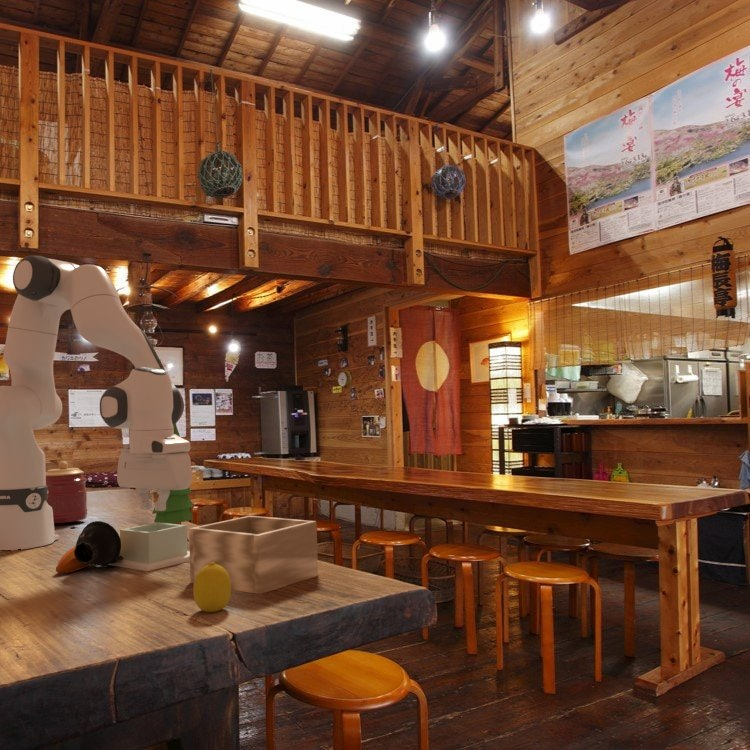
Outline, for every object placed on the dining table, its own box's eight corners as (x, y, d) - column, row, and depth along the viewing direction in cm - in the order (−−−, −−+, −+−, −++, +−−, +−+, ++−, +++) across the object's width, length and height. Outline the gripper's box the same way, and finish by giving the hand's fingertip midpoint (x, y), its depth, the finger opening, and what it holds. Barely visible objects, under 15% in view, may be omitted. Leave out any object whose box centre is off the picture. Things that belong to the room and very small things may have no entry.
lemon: (197, 611, 102) (196, 559, 103) (234, 609, 103) (232, 557, 103) (190, 623, 97) (189, 567, 97) (229, 620, 97) (227, 565, 98)
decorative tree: (176, 546, 154) (173, 416, 155) (143, 545, 157) (140, 417, 159) (201, 538, 163) (198, 415, 164) (169, 537, 166) (166, 416, 168)
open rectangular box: (104, 565, 137) (103, 530, 137) (160, 551, 149) (159, 520, 149) (147, 572, 129) (146, 536, 130) (203, 557, 141) (202, 524, 141)
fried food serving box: (190, 585, 118) (189, 528, 119) (250, 566, 131) (249, 515, 131) (259, 597, 109) (258, 535, 109) (318, 576, 121) (316, 521, 122)
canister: (30, 524, 195) (29, 463, 196) (58, 516, 208) (57, 460, 209) (70, 524, 193) (69, 462, 194) (96, 516, 206) (95, 459, 207)
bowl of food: (75, 521, 125) (129, 493, 143) (49, 565, 128) (104, 532, 145) (113, 551, 124) (162, 519, 142) (85, 594, 127) (137, 557, 144)
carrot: (56, 553, 126) (104, 525, 141) (40, 568, 128) (89, 539, 142) (72, 573, 126) (119, 543, 141) (57, 588, 127) (104, 557, 142)
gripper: (109, 444, 143) (110, 509, 143) (171, 444, 132) (172, 515, 131) (134, 442, 149) (135, 505, 148) (196, 442, 137) (197, 510, 136)
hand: (153, 510), depth 140 cm, fingers open, 3 cm apart
